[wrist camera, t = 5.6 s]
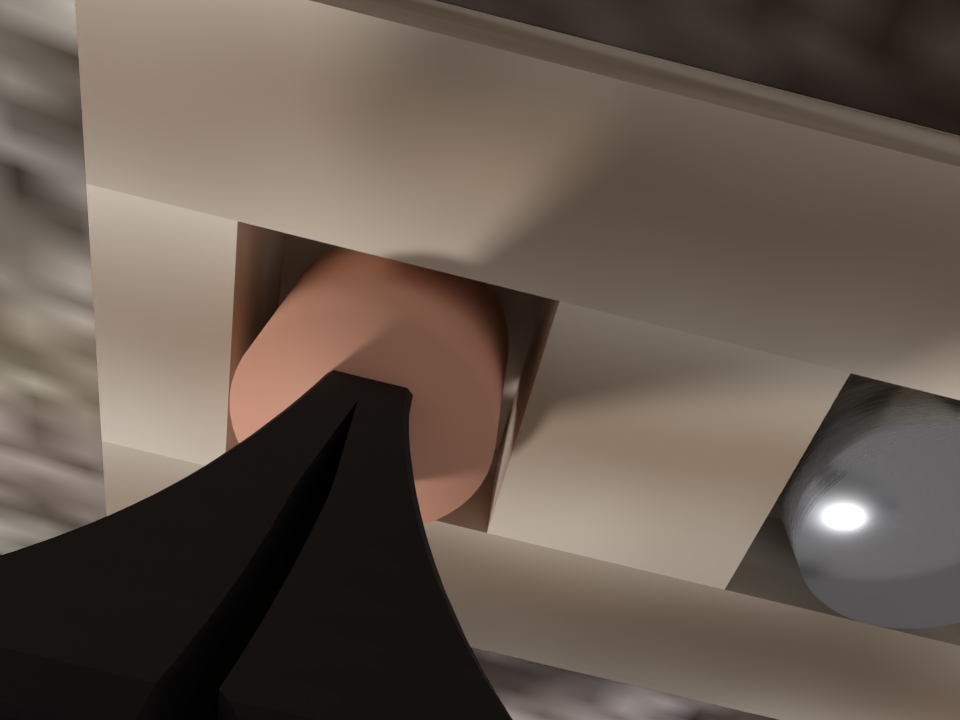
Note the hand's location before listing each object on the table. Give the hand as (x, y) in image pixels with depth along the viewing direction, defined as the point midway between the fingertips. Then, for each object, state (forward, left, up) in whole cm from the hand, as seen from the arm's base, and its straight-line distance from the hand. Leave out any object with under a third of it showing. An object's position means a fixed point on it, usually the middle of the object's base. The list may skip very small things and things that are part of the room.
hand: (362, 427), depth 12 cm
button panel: (0, -5, -4) cm, 6 cm away
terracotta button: (0, 0, -3) cm, 3 cm away
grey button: (0, -10, -4) cm, 11 cm away
